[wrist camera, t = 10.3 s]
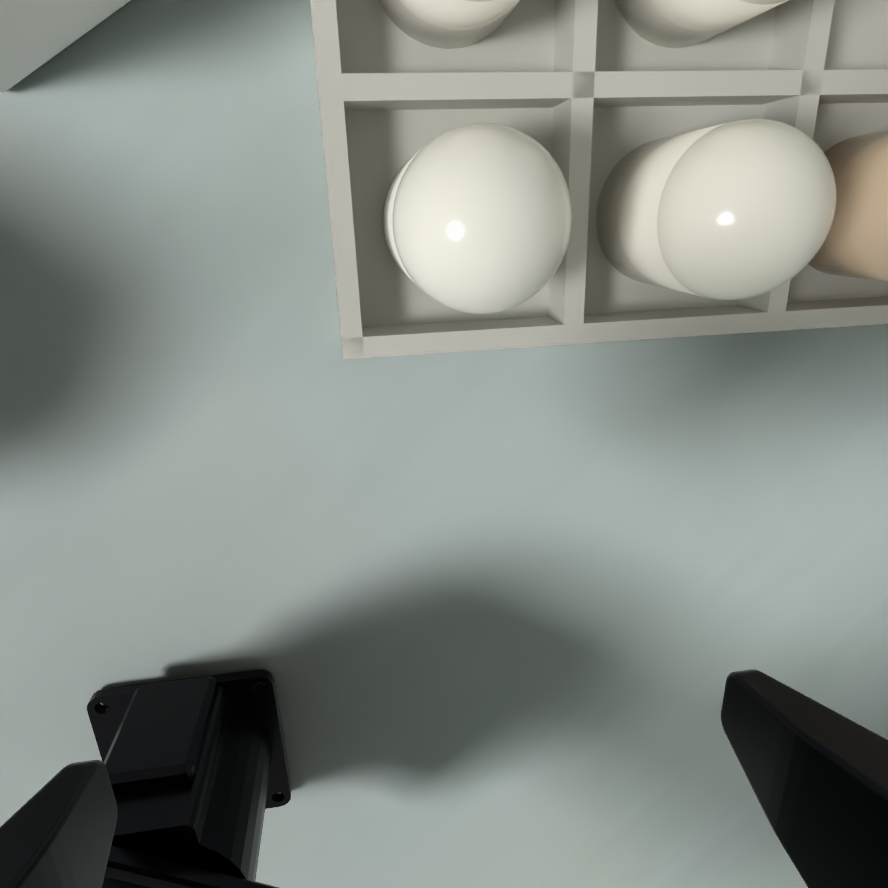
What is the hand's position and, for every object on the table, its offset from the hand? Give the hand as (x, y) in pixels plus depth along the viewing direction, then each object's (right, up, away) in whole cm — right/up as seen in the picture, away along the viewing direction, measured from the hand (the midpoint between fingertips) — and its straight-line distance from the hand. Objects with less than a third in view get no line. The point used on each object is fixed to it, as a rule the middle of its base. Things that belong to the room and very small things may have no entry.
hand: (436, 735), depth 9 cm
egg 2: (0, +11, +9) cm, 14 cm away
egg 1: (+7, +11, +10) cm, 17 cm away
